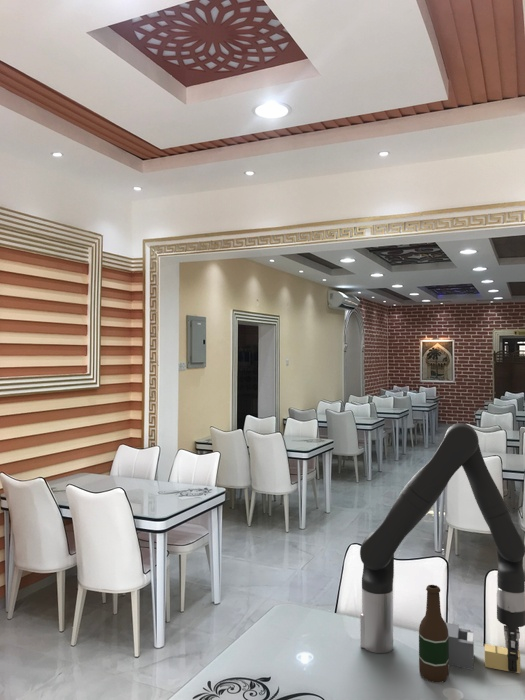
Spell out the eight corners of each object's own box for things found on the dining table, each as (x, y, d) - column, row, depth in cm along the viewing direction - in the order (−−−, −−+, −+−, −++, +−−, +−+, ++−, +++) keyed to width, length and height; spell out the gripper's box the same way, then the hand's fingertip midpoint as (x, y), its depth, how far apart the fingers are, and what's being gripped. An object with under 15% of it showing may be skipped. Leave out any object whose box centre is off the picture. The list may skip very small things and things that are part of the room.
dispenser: (428, 661, 156) (428, 632, 157) (430, 646, 164) (430, 620, 164) (473, 669, 152) (473, 640, 152) (473, 654, 160) (473, 627, 160)
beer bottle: (450, 685, 145) (450, 593, 145) (420, 681, 146) (419, 591, 147) (447, 669, 152) (446, 582, 153) (418, 665, 154) (417, 579, 155)
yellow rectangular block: (484, 666, 153) (484, 650, 153) (484, 659, 157) (484, 643, 157) (520, 673, 150) (520, 656, 150) (519, 665, 153) (519, 649, 153)
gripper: (495, 592, 161) (496, 651, 160) (497, 613, 147) (498, 677, 147) (524, 596, 158) (525, 656, 157) (528, 617, 145) (529, 683, 144)
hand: (512, 666), depth 152 cm, fingers closed on yellow rectangular block, 4 cm apart
